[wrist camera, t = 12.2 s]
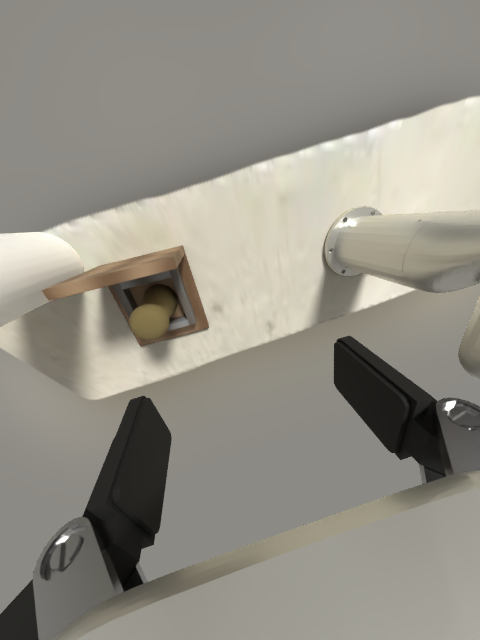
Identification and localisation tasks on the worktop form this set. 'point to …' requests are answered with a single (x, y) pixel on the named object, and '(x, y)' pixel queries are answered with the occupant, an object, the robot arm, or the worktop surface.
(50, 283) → the cylinder container
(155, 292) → the cork
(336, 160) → the worktop surface
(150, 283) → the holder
